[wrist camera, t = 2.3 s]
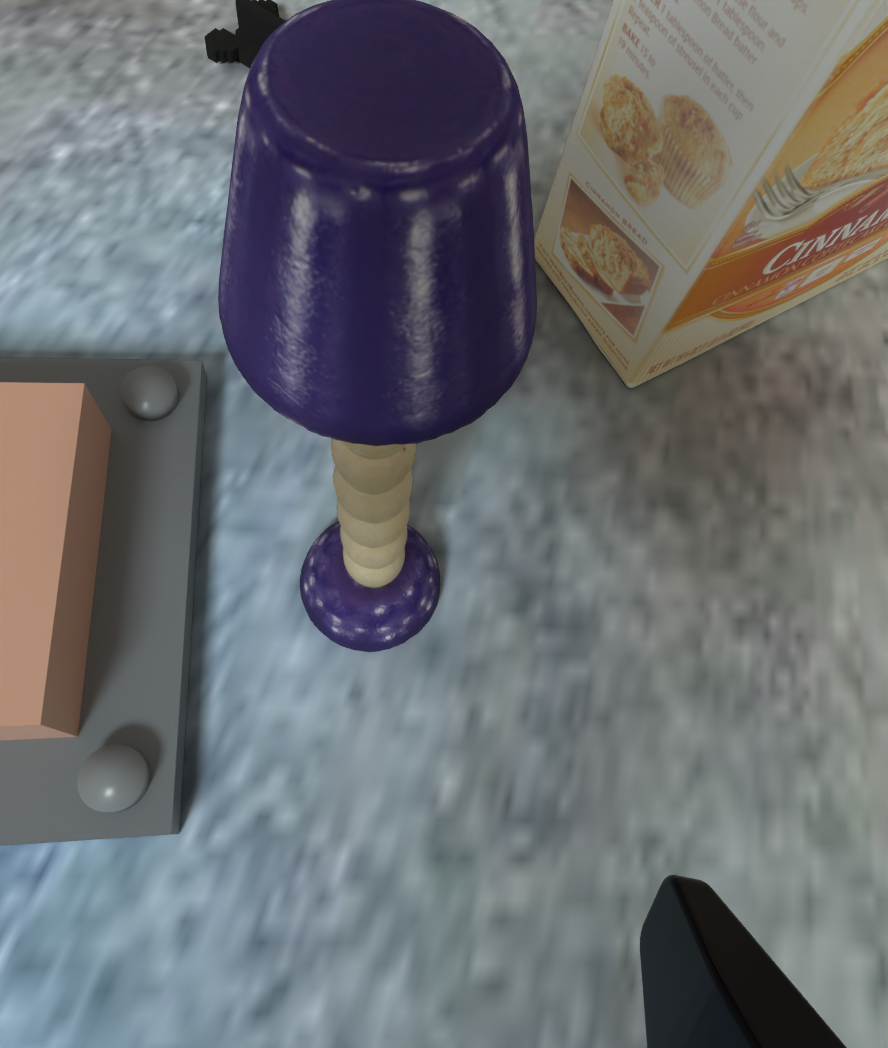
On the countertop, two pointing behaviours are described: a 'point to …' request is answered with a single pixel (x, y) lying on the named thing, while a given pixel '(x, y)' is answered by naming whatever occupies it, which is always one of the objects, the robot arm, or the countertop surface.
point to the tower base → (96, 593)
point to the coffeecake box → (718, 171)
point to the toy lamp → (378, 273)
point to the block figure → (244, 32)
